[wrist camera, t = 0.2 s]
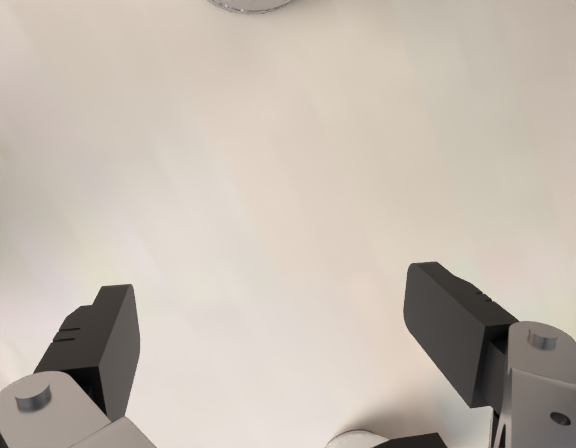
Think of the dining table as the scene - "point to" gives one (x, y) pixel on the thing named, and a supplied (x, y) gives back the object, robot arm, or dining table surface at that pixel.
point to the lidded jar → (356, 440)
